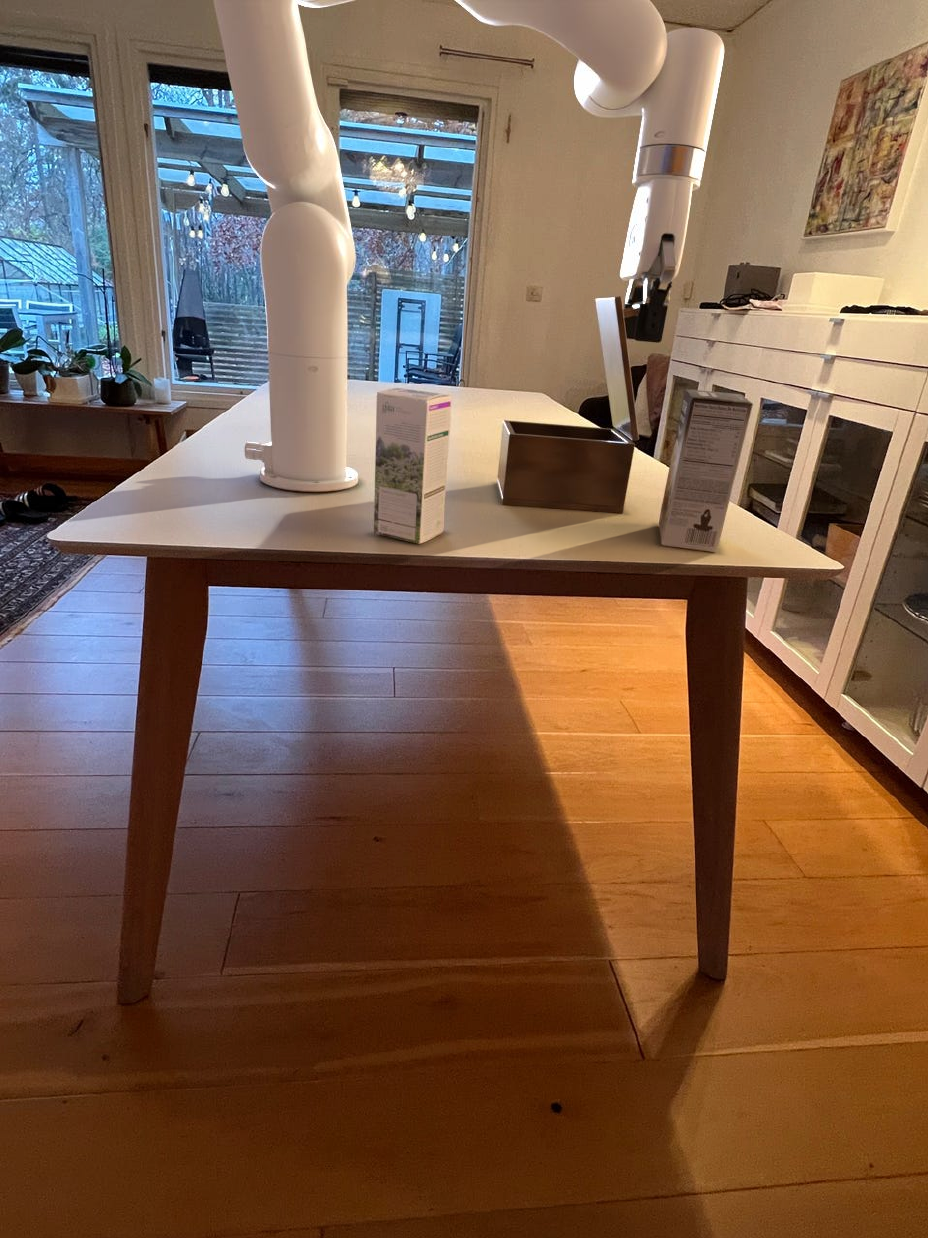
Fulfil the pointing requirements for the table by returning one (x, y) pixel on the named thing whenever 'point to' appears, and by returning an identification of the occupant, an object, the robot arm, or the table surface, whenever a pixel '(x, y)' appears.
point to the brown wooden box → (564, 466)
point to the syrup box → (411, 463)
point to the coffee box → (703, 468)
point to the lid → (618, 362)
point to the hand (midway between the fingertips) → (639, 338)
